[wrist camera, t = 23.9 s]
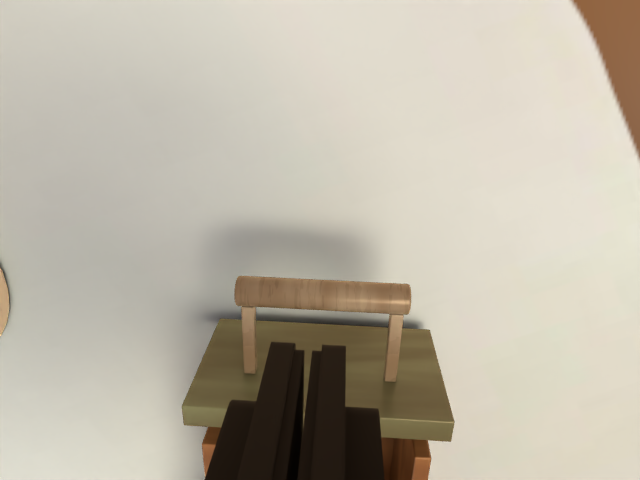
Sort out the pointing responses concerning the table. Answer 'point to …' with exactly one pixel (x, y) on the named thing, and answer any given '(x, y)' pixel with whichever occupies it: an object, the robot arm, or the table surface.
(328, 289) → the drawer
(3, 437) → the table surface
